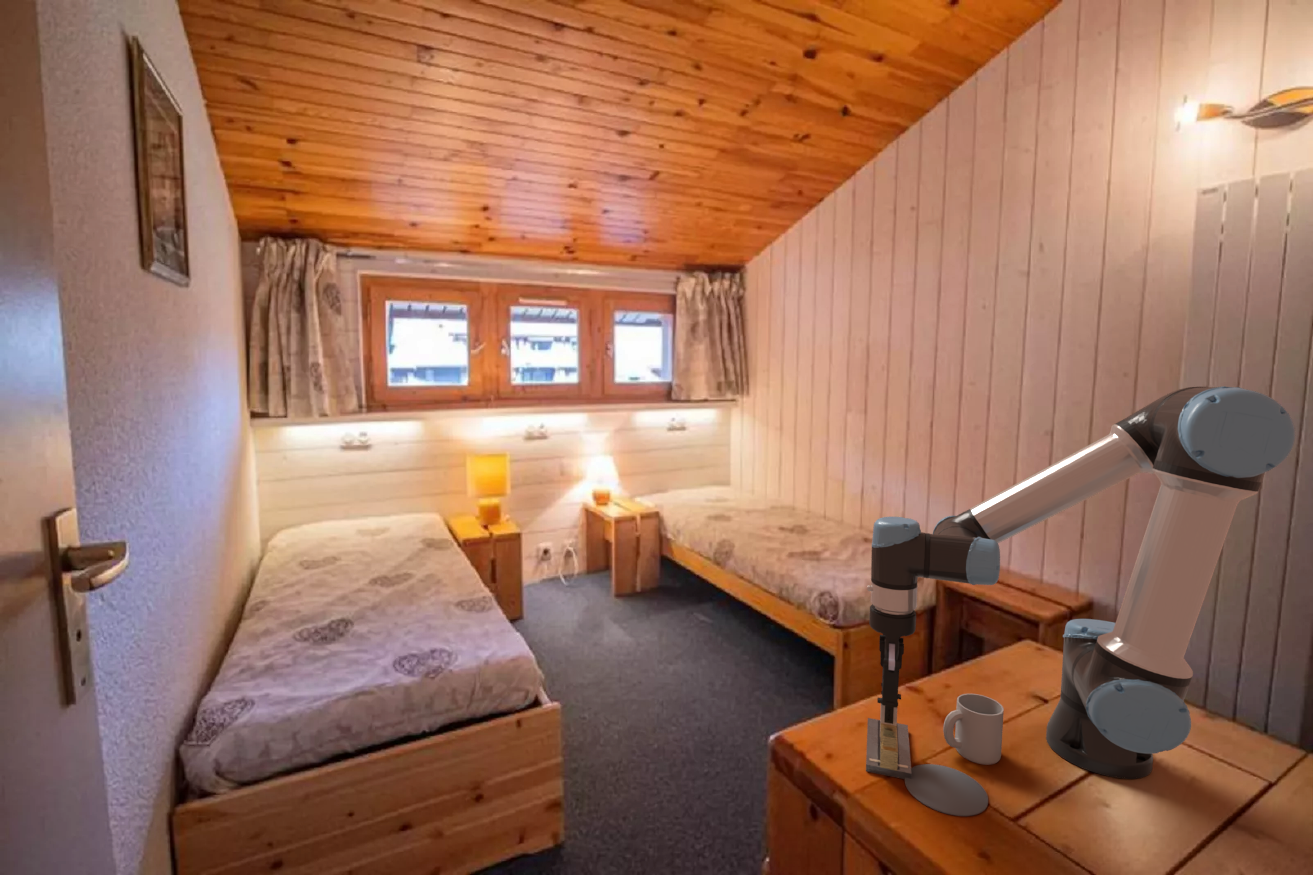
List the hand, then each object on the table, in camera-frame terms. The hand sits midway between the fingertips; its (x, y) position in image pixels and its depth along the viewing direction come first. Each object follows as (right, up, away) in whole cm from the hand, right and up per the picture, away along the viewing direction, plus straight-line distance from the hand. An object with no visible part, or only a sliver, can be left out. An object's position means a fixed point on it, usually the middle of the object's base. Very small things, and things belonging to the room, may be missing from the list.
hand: (887, 736), depth 108 cm
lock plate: (0, -2, 0) cm, 2 cm away
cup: (+14, -3, -1) cm, 14 cm away
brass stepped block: (-2, -1, -4) cm, 5 cm away
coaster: (+5, -3, -11) cm, 12 cm away
